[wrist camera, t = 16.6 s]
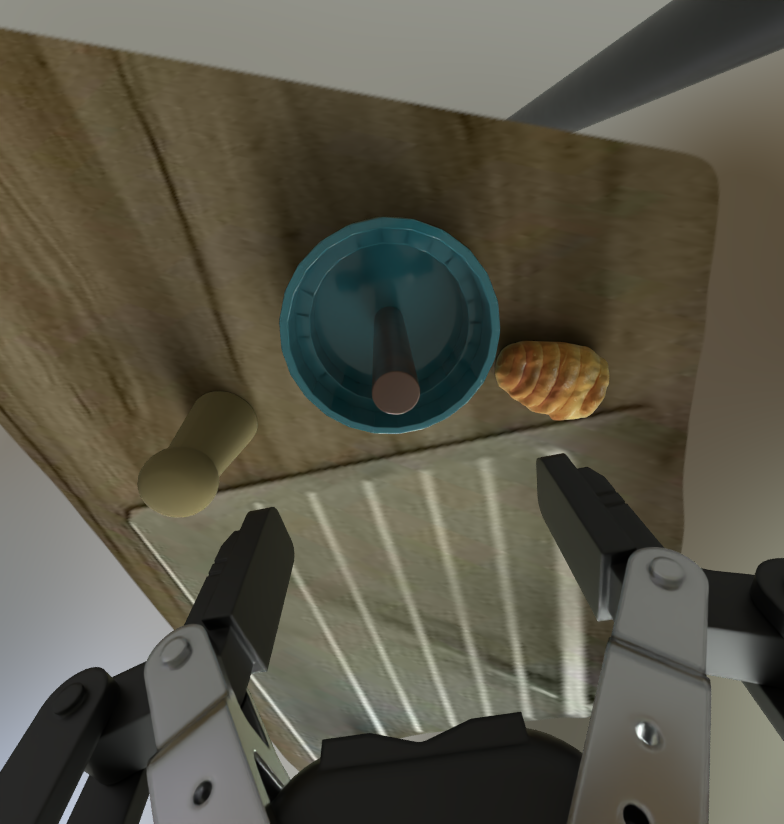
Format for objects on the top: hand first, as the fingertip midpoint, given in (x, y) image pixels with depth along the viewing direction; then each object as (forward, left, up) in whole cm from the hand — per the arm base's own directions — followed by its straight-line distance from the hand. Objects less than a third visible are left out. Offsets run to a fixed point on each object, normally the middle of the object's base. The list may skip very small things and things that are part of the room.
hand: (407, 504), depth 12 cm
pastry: (-13, +8, -23) cm, 28 cm away
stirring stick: (0, 0, -22) cm, 22 cm away
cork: (+17, +6, -23) cm, 29 cm away
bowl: (0, 0, -23) cm, 23 cm away
